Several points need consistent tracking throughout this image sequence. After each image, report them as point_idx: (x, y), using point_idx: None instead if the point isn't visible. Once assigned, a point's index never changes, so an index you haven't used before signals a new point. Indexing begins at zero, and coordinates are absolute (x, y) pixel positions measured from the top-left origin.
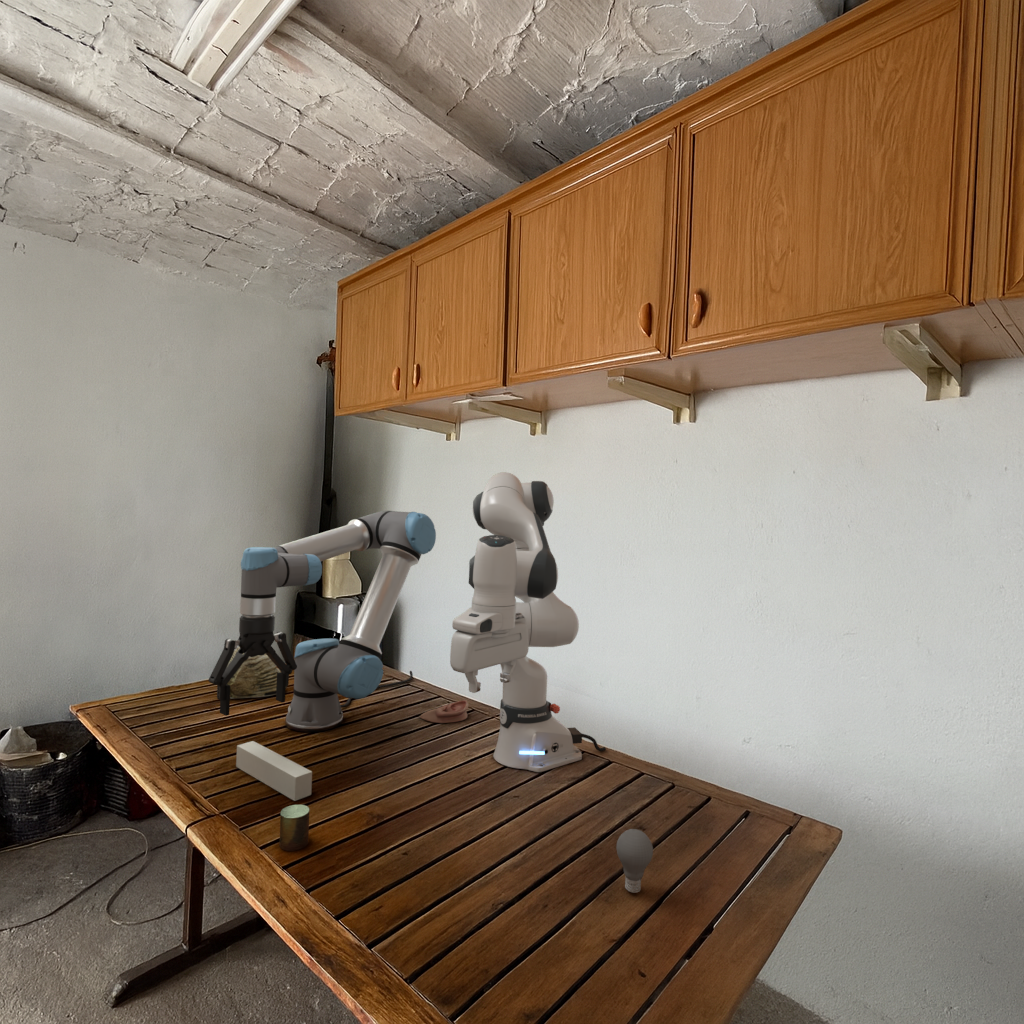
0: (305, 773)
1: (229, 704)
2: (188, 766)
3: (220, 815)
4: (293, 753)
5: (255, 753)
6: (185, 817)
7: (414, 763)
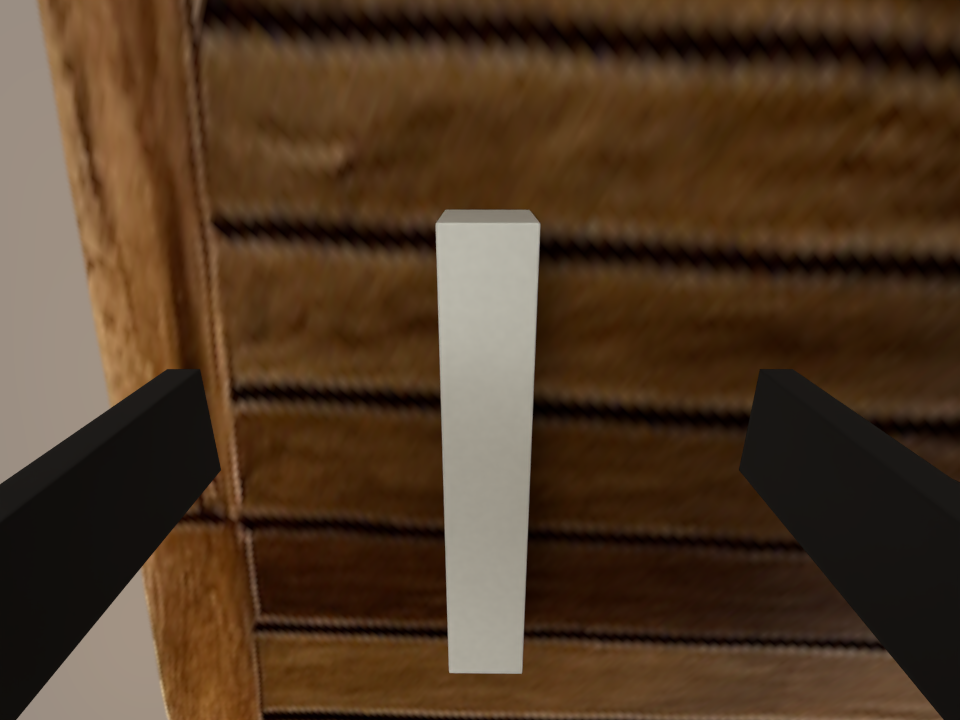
0: (493, 671)
1: (168, 531)
2: (266, 15)
3: (235, 532)
4: (722, 260)
5: (454, 393)
6: None
7: None
